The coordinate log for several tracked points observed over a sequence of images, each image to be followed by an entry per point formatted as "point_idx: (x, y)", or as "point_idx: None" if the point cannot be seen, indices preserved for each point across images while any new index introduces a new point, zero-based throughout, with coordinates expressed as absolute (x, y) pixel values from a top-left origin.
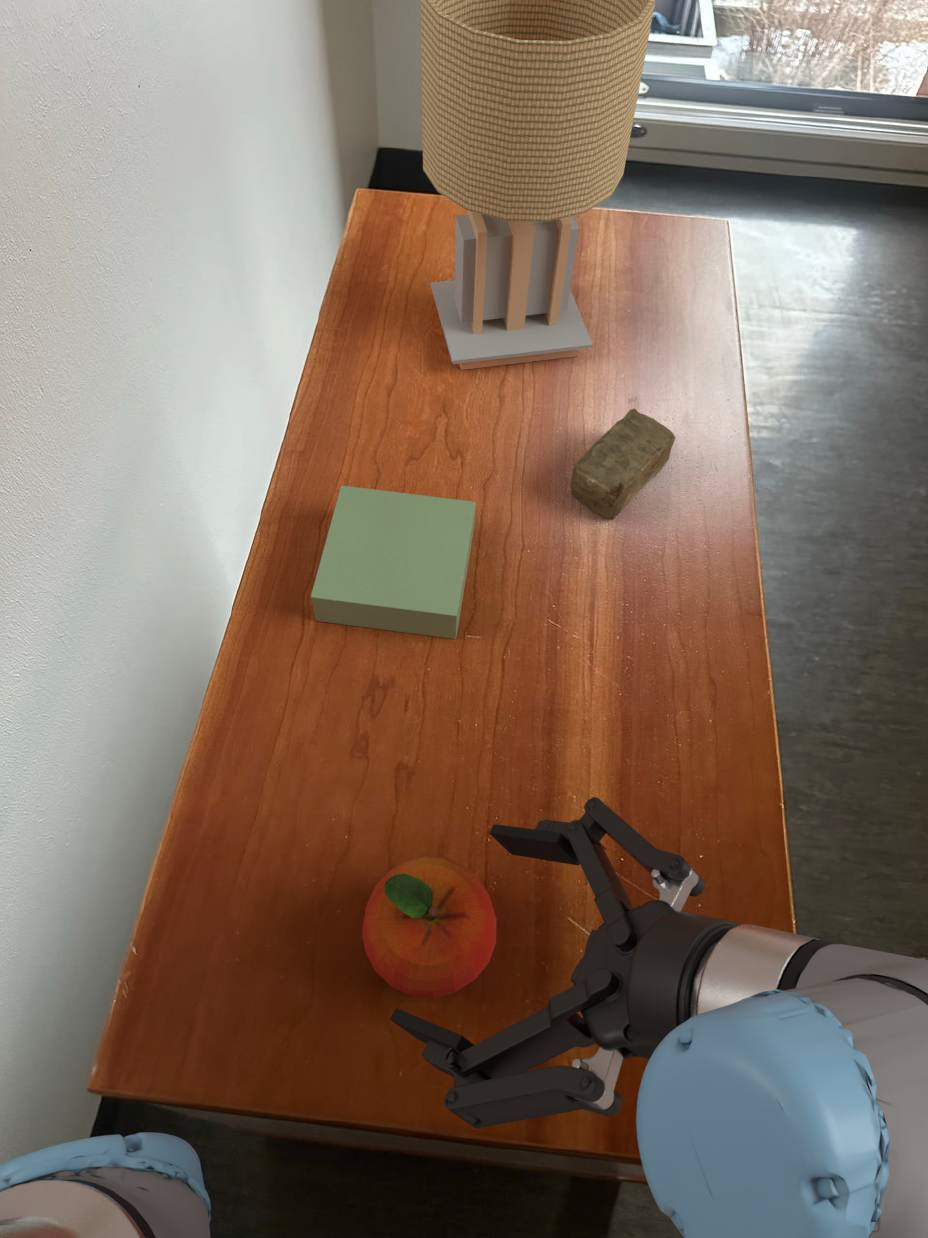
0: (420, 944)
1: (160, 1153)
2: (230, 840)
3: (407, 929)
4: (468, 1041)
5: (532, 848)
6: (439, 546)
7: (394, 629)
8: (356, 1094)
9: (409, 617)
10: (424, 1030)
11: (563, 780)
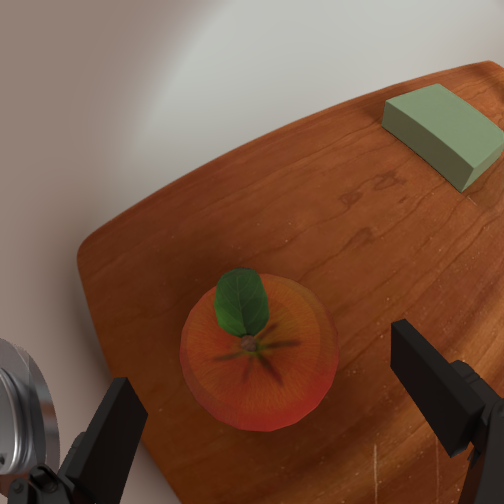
0: (210, 357)
1: None
2: (223, 187)
3: (216, 332)
4: (86, 487)
5: (422, 385)
6: (480, 134)
7: (426, 158)
8: None
9: (441, 151)
10: (94, 422)
11: (466, 342)
